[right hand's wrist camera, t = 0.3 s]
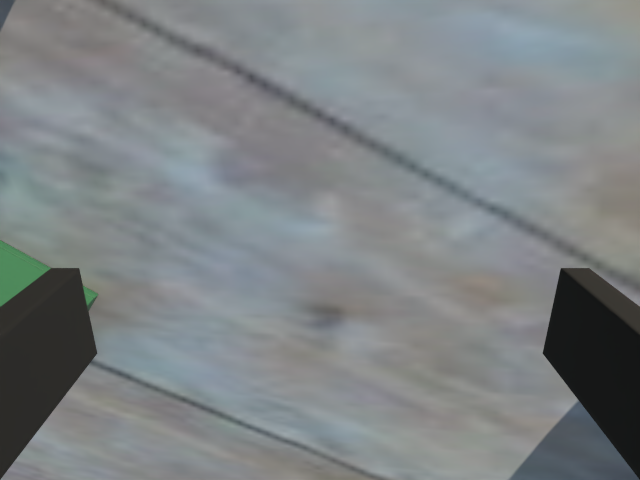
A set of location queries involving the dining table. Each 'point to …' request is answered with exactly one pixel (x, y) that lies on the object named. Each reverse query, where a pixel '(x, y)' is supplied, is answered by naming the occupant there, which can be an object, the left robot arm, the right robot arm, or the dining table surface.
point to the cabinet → (23, 274)
